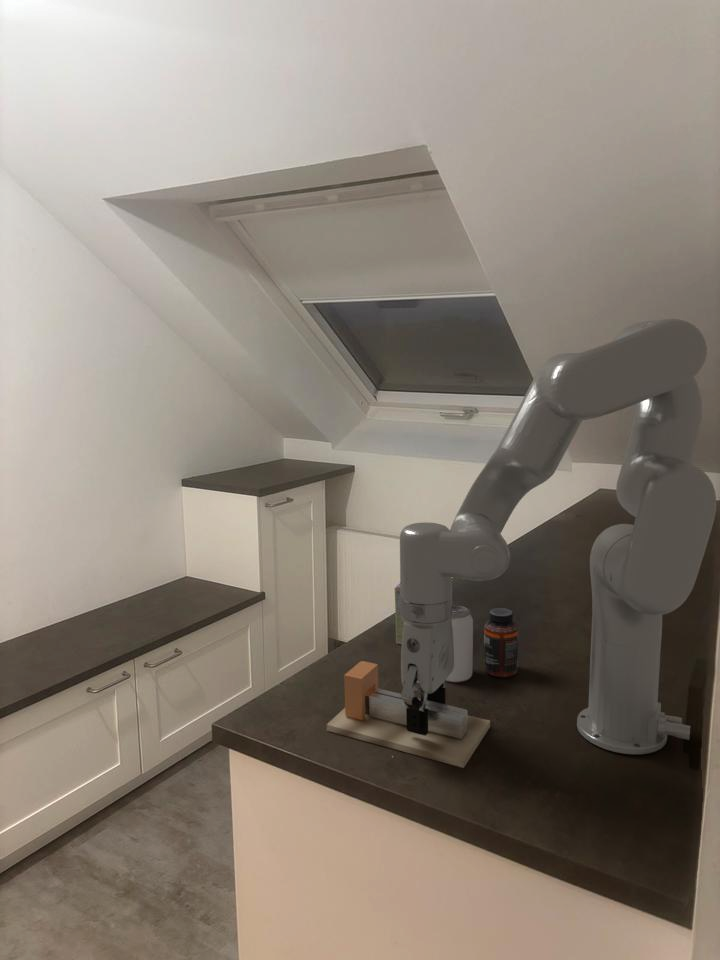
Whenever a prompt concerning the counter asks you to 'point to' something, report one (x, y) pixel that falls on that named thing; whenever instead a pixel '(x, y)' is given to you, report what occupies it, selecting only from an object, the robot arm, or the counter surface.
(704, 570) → the counter surface
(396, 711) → the jaw
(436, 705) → the bar
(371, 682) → the orange notched block
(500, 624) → the supplement bottle
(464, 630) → the can
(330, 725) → the tongs board
